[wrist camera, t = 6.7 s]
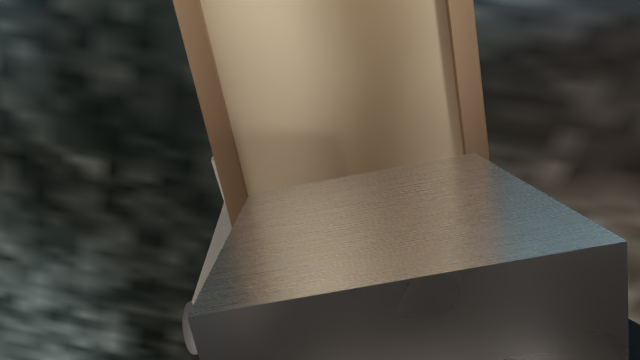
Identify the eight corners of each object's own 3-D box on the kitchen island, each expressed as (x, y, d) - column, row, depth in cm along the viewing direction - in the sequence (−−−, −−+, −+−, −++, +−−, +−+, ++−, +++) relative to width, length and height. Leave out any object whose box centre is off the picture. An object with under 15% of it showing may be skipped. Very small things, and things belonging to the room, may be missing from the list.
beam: (388, -198, 15) (434, -366, 9) (481, 492, 23) (540, 647, 17) (182, -152, 16) (98, -286, 10) (340, 515, 23) (348, 675, 17)
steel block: (474, 153, 10) (626, 240, 5) (495, 350, 11) (632, 574, 6) (249, 194, 10) (187, 316, 5) (294, 384, 11) (277, 625, 6)
